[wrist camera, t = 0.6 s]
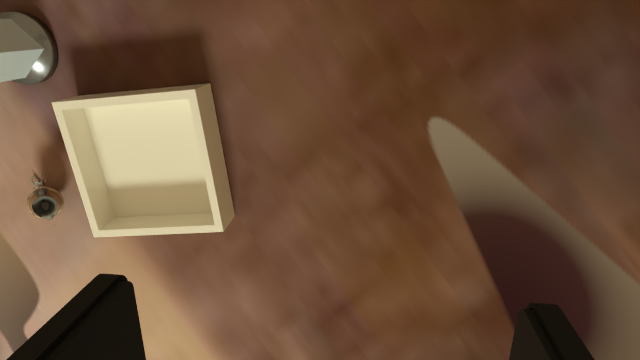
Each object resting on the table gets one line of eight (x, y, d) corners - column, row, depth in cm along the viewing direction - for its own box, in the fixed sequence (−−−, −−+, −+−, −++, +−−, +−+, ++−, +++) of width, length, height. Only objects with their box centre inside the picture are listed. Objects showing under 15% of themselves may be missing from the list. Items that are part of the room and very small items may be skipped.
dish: (77, 95, 45) (51, 102, 42) (210, 83, 43) (195, 89, 40) (114, 221, 50) (93, 237, 47) (234, 215, 48) (223, 231, 44)
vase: (74, 164, 48) (38, 188, 43) (94, 206, 51) (62, 234, 45) (32, 172, 49) (-8, 196, 44) (54, 213, 51) (18, 241, 46)
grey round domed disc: (-17, 15, 43) (-26, 15, 43) (45, 7, 42) (38, 7, 42) (7, 85, 46) (-1, 87, 45) (66, 79, 45) (60, 81, 44)
